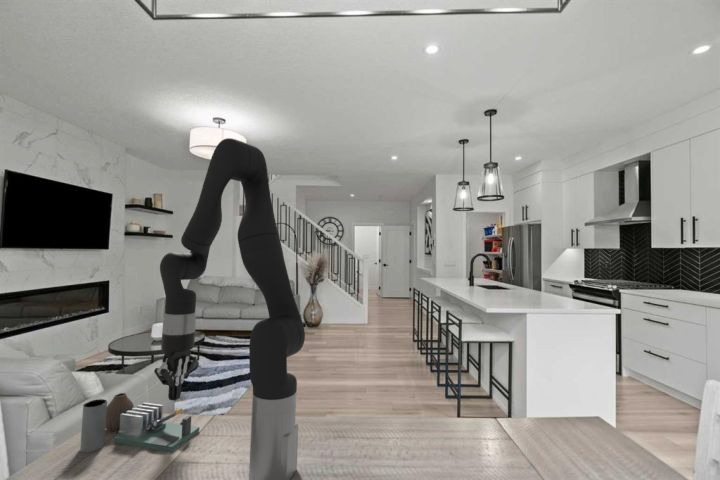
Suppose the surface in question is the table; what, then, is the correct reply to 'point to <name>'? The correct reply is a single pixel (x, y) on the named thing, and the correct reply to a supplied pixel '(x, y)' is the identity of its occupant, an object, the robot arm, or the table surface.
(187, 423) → the block
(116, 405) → the vase
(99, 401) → the planter
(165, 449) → the board
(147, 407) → the heatsink
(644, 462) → the table surface
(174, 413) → the blue-grey flat piece
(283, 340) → the robot arm
